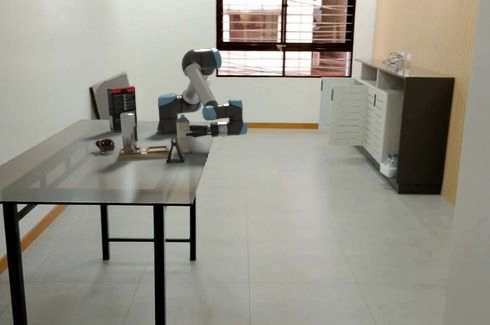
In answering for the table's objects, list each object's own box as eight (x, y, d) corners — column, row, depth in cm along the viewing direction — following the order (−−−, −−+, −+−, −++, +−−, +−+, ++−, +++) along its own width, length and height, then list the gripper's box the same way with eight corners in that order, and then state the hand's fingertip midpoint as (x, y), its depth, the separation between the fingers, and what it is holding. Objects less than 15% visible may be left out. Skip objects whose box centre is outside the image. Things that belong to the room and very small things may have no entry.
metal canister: (123, 151, 273) (120, 113, 268) (138, 150, 274) (135, 112, 269) (123, 154, 266) (119, 115, 261) (138, 153, 268) (135, 114, 262)
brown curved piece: (119, 150, 287) (118, 139, 281) (110, 161, 281) (109, 150, 275) (100, 144, 289) (98, 133, 283) (91, 155, 283) (88, 144, 277)
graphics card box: (133, 126, 346) (129, 85, 339) (138, 128, 341) (135, 86, 334) (109, 130, 335) (105, 88, 328) (115, 132, 330) (111, 89, 323)
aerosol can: (191, 149, 282) (189, 113, 277) (191, 153, 276) (189, 115, 270) (178, 150, 282) (176, 113, 276) (178, 153, 275) (175, 116, 270)
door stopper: (185, 159, 264) (183, 136, 261) (184, 162, 258) (182, 139, 255) (167, 160, 263) (165, 136, 260) (166, 163, 258) (164, 139, 254)
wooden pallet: (119, 155, 275) (118, 148, 274) (169, 151, 280) (168, 145, 279) (118, 160, 265) (118, 153, 264) (170, 156, 269) (170, 150, 268)
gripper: (222, 141, 268) (180, 144, 265) (215, 131, 292) (177, 134, 288) (221, 127, 266) (179, 129, 262) (214, 118, 290) (176, 120, 286)
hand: (178, 132), depth 275 cm, fingers open, 13 cm apart
